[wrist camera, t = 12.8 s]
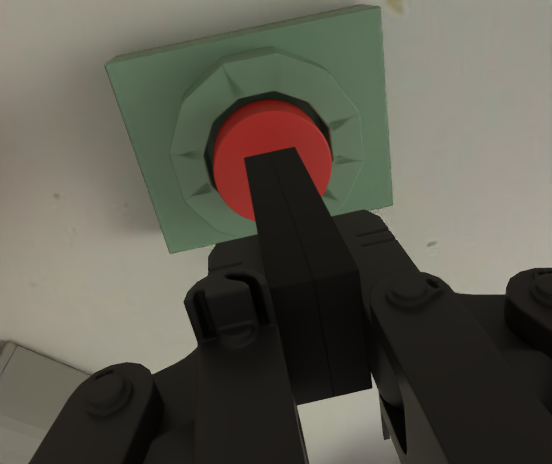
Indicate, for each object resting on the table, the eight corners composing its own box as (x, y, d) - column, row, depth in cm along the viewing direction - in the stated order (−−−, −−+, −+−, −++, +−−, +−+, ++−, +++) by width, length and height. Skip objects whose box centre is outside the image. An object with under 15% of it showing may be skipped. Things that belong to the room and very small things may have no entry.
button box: (363, 4, 18) (399, 7, 15) (378, 186, 22) (408, 224, 19) (115, 56, 18) (91, 72, 14) (173, 231, 22) (166, 277, 18)
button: (313, 87, 16) (324, 98, 14) (328, 191, 18) (338, 210, 16) (200, 111, 16) (199, 125, 14) (227, 213, 18) (228, 234, 16)
